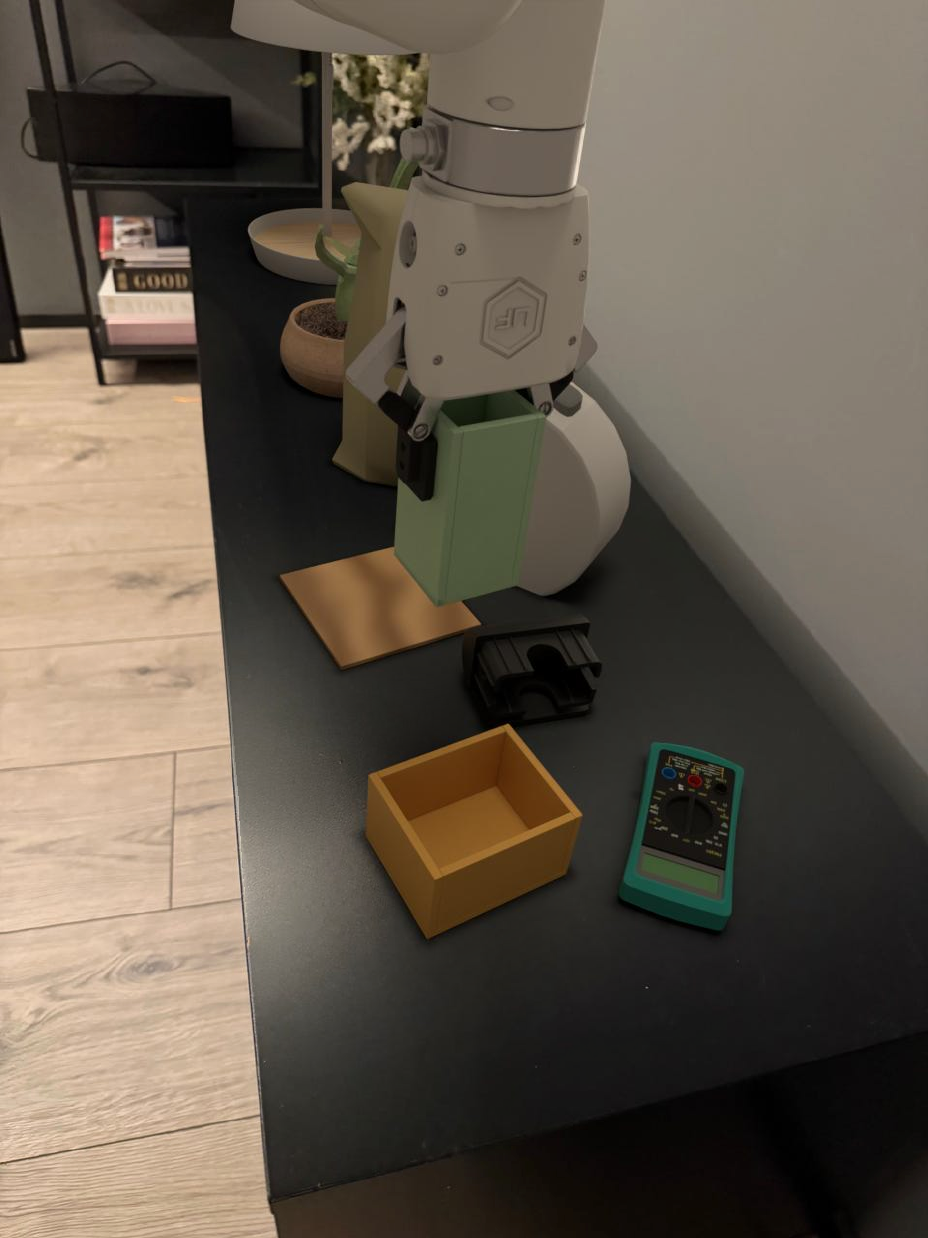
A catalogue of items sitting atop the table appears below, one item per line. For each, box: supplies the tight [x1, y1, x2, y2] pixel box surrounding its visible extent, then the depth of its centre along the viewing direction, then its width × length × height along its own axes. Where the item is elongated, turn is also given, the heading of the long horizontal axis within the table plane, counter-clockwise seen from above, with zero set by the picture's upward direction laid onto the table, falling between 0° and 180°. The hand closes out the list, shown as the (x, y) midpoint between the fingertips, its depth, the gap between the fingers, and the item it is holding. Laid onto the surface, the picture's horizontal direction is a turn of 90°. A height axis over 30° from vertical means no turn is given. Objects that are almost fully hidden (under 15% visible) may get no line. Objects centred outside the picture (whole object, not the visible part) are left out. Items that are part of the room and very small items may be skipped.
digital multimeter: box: [618, 741, 745, 931], centre depth 67 cm, size 7×15×3 cm, turn 163°
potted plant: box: [279, 127, 420, 399], centre depth 114 cm, size 22×18×30 cm
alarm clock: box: [516, 381, 632, 597], centre depth 88 cm, size 21×8×20 cm, turn 61°
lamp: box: [230, 0, 419, 286], centre depth 143 cm, size 29×29×43 cm
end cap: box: [461, 614, 603, 730], centre depth 77 cm, size 10×7×7 cm
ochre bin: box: [365, 724, 583, 940], centre depth 63 cm, size 11×9×7 cm
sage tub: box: [393, 390, 546, 607], centre depth 56 cm, size 6×6×12 cm
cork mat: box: [279, 546, 482, 671], centre depth 86 cm, size 14×14×1 cm
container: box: [331, 181, 408, 487], centre depth 99 cm, size 24×17×30 cm
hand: (465, 476), depth 56 cm, fingers closed on sage tub, 6 cm apart
